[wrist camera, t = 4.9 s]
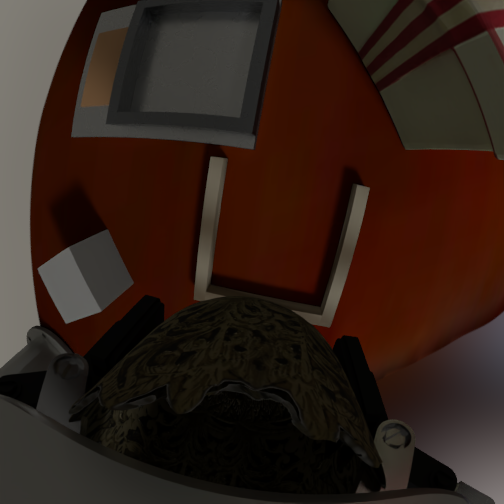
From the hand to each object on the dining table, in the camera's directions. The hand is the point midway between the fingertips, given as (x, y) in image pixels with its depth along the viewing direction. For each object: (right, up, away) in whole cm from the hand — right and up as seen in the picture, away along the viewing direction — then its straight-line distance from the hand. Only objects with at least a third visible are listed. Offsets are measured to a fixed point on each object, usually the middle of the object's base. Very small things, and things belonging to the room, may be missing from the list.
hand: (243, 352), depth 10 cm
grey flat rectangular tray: (-7, +20, +9) cm, 23 cm away
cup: (0, +1, +2) cm, 2 cm away
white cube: (-15, +2, +16) cm, 22 cm away
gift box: (+17, +20, +6) cm, 27 cm away
